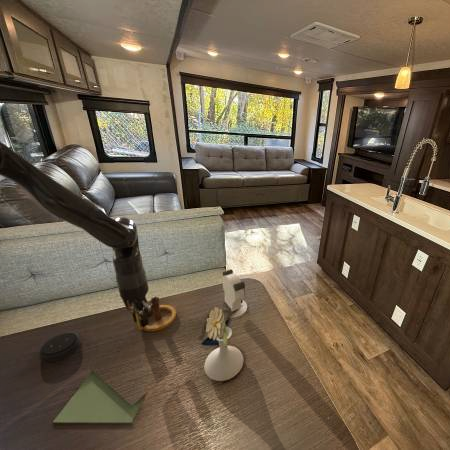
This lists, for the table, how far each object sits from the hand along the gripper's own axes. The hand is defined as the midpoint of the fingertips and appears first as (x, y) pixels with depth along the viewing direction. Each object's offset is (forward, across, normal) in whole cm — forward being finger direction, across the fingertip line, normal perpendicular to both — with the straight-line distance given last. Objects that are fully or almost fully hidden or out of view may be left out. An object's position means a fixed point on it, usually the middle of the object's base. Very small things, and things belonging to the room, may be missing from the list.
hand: (141, 323), depth 83 cm
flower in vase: (+4, +32, +4) cm, 33 cm away
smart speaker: (+4, -12, -17) cm, 21 cm away
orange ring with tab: (+3, 0, +6) cm, 6 cm away
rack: (+4, 0, +6) cm, 7 cm away
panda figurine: (+4, +18, +25) cm, 31 cm away
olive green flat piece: (+4, +12, -17) cm, 21 cm away
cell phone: (+4, +20, +14) cm, 24 cm away
